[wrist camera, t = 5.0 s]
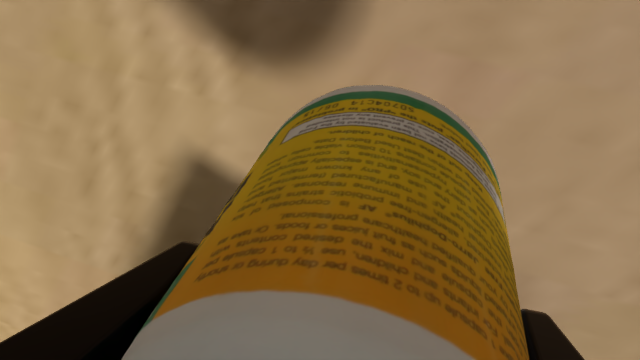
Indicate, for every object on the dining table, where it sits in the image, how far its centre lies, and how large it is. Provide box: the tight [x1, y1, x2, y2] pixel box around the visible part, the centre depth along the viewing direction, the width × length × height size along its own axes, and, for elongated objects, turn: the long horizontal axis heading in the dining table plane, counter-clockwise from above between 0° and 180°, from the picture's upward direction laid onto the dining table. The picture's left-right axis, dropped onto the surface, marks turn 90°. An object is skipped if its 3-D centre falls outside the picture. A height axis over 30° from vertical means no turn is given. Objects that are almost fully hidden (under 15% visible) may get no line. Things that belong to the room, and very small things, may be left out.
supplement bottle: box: [122, 85, 529, 360], centre depth 8 cm, size 5×5×10 cm
